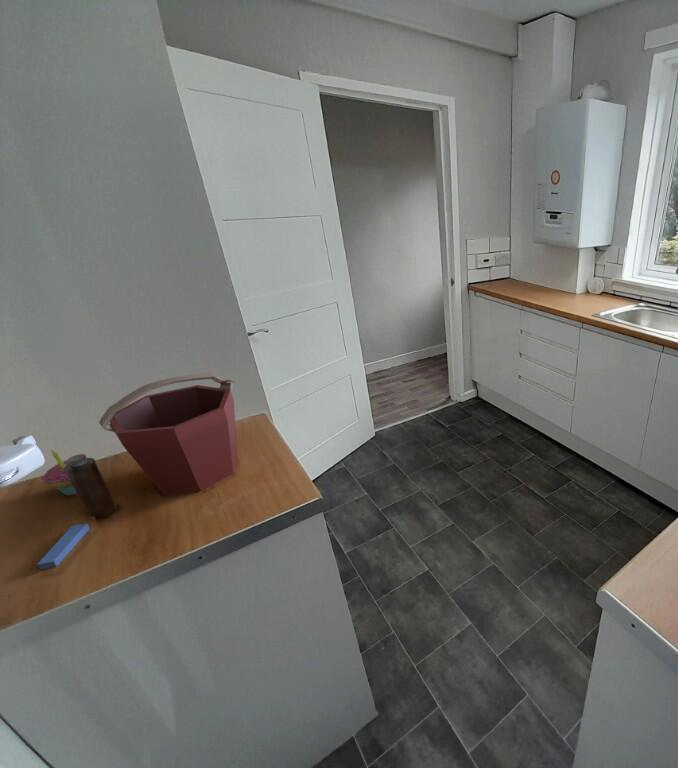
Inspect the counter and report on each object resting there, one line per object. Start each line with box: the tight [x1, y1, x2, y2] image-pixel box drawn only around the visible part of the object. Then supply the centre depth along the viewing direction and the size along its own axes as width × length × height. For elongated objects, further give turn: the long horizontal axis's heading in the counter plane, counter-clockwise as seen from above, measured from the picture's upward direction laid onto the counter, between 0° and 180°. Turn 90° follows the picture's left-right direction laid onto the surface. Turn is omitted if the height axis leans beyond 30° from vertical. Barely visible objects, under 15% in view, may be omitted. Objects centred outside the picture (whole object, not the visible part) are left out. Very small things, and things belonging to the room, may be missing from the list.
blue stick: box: [36, 522, 91, 571], centre depth 77 cm, size 10×2×2 cm, turn 18°
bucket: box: [98, 372, 238, 497], centre depth 95 cm, size 24×22×25 cm
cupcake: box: [42, 449, 77, 496], centre depth 92 cm, size 9×8×12 cm
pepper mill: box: [64, 453, 118, 520], centre depth 85 cm, size 4×4×14 cm
